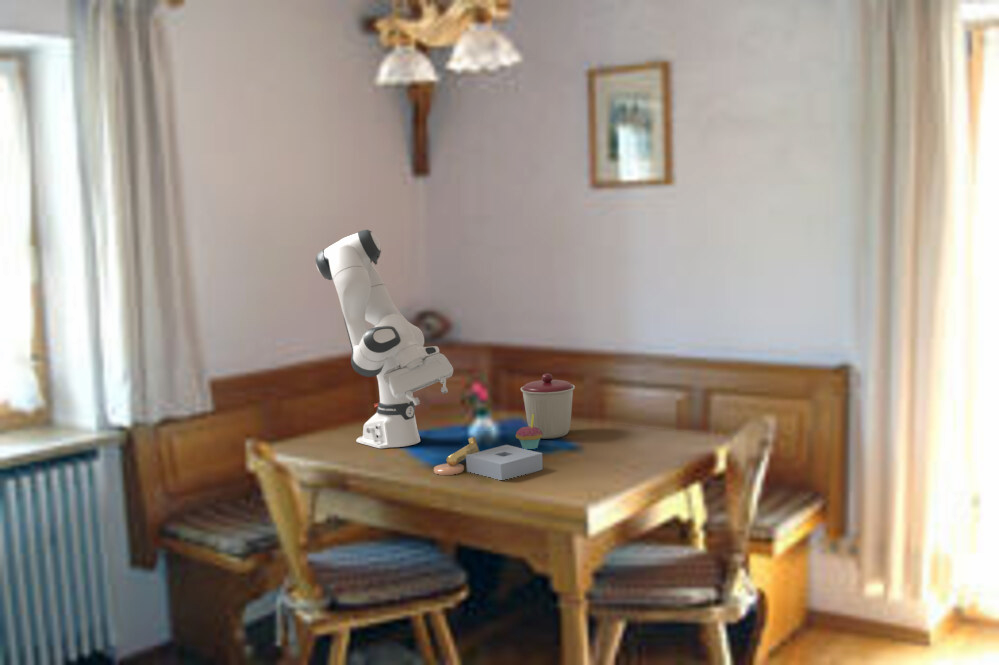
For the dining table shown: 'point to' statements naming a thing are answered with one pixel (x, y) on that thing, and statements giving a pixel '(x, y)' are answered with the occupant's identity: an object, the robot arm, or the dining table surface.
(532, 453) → the grey square socket block
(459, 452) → the key
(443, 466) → the pink flat disc
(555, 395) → the canister
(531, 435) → the cupcake
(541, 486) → the dining table surface
